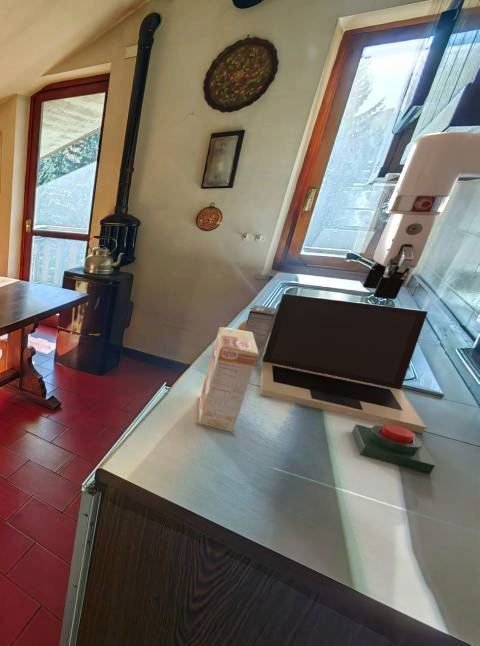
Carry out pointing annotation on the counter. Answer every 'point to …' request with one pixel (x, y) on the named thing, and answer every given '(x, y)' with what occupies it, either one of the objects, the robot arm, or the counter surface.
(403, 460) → the switch box
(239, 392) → the coffeecake box
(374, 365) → the laptop screen
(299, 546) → the counter surface
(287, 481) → the counter surface
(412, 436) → the button
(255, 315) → the coffee box
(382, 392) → the laptop
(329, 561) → the counter surface
